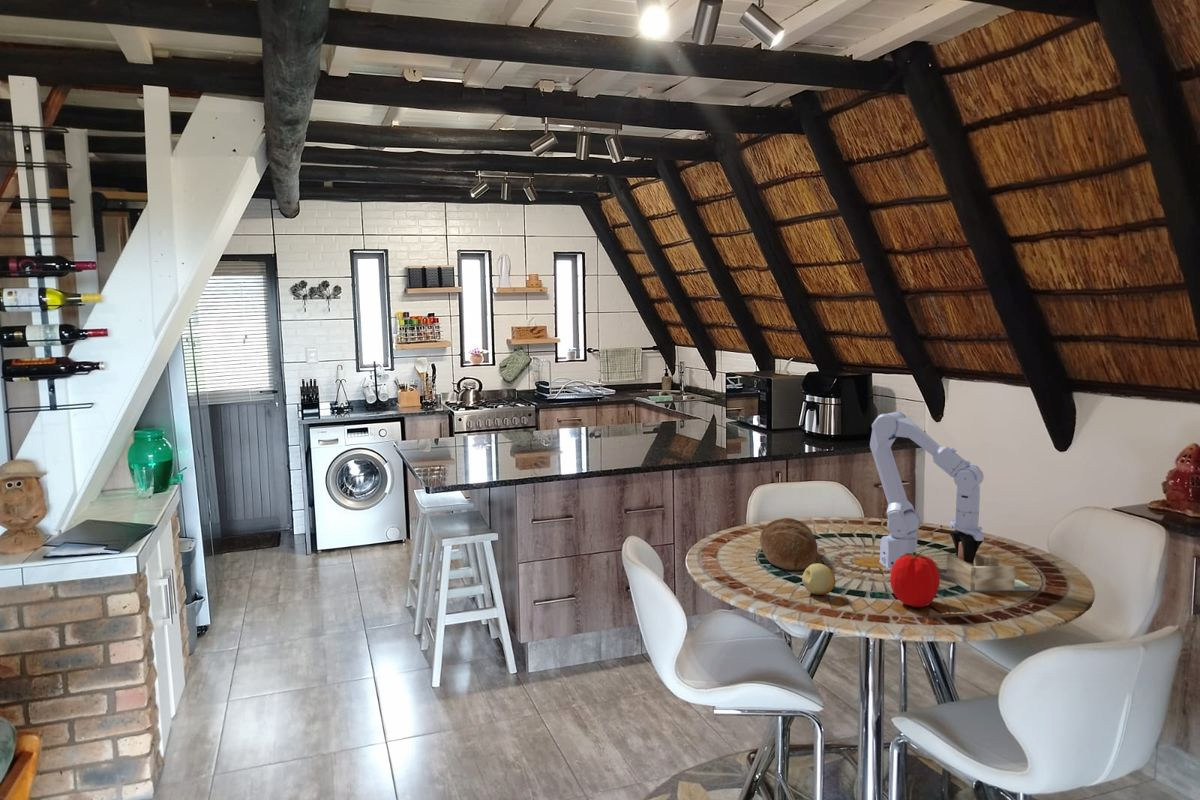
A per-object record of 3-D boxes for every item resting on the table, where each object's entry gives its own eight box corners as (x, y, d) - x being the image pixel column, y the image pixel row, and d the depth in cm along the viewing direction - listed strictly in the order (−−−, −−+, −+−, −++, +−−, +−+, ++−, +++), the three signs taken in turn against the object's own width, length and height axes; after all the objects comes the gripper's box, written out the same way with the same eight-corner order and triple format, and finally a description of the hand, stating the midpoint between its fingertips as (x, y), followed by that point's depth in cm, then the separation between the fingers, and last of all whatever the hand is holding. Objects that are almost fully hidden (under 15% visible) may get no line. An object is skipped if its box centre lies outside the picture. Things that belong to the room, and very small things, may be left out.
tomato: (901, 614, 196) (903, 559, 194) (881, 597, 208) (882, 545, 207) (949, 613, 196) (951, 559, 195) (926, 596, 208) (928, 545, 207)
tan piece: (970, 590, 212) (971, 567, 211) (946, 575, 224) (947, 553, 224) (1014, 589, 212) (1015, 567, 212) (987, 574, 225) (988, 553, 225)
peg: (961, 573, 221) (962, 544, 221) (955, 570, 225) (956, 541, 224) (974, 573, 221) (975, 544, 221) (967, 569, 225) (968, 541, 224)
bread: (806, 545, 257) (807, 510, 256) (823, 573, 228) (825, 533, 227) (755, 544, 259) (756, 509, 258) (766, 572, 230) (767, 532, 229)
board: (968, 593, 211) (969, 591, 211) (939, 574, 227) (939, 572, 227) (1036, 592, 212) (1036, 590, 212) (1002, 573, 228) (1002, 571, 228)
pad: (1010, 587, 214) (1010, 586, 214) (1000, 581, 219) (1000, 580, 219) (1029, 587, 214) (1029, 585, 214) (1018, 581, 219) (1018, 579, 219)
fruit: (803, 588, 215) (804, 558, 214) (836, 592, 212) (837, 561, 211) (799, 597, 208) (800, 566, 207) (833, 601, 205) (834, 569, 204)
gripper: (996, 516, 215) (993, 567, 216) (968, 504, 229) (965, 552, 230) (970, 517, 214) (967, 568, 215) (943, 504, 229) (941, 552, 230)
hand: (964, 560), depth 223 cm, fingers closed on peg, 3 cm apart
